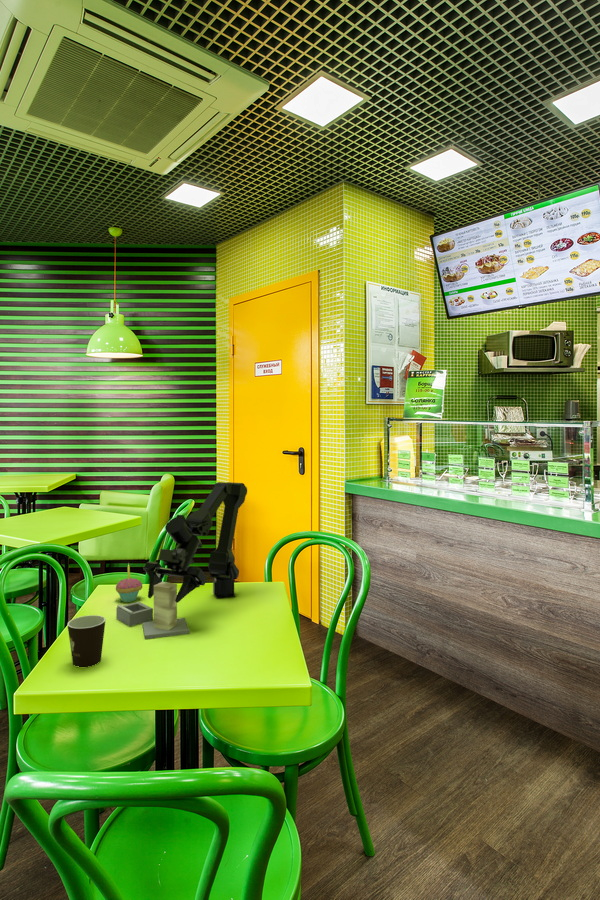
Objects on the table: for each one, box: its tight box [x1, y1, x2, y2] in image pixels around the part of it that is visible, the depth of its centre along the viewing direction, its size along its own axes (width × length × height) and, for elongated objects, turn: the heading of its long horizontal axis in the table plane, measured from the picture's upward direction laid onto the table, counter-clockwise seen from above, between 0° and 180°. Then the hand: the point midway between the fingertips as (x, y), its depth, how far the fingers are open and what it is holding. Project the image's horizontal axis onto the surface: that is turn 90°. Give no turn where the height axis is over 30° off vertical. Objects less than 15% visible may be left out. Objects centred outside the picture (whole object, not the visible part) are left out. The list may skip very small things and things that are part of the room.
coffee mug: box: [67, 614, 106, 668], centre depth 128 cm, size 12×9×10 cm
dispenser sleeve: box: [115, 601, 154, 627], centre depth 155 cm, size 7×8×4 cm
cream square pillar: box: [153, 581, 178, 630], centre depth 147 cm, size 4×5×12 cm
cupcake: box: [115, 562, 143, 603], centre depth 172 cm, size 9×8×12 cm
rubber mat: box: [142, 617, 190, 640], centre depth 148 cm, size 12×10×1 cm
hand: (162, 599), depth 146 cm, fingers open, 9 cm apart
